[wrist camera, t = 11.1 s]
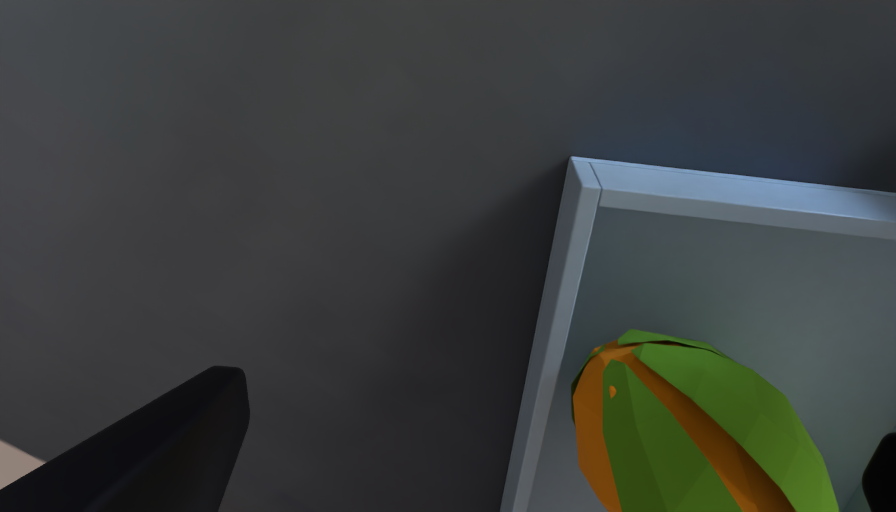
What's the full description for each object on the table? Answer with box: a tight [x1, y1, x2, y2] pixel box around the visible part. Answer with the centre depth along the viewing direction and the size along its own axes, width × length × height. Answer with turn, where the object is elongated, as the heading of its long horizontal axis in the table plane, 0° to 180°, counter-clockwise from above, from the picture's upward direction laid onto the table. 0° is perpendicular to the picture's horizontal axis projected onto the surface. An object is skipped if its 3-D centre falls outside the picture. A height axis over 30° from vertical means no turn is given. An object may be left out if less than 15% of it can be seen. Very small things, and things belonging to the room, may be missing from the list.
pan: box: [500, 156, 896, 512], centre depth 23 cm, size 15×26×3 cm, turn 174°
